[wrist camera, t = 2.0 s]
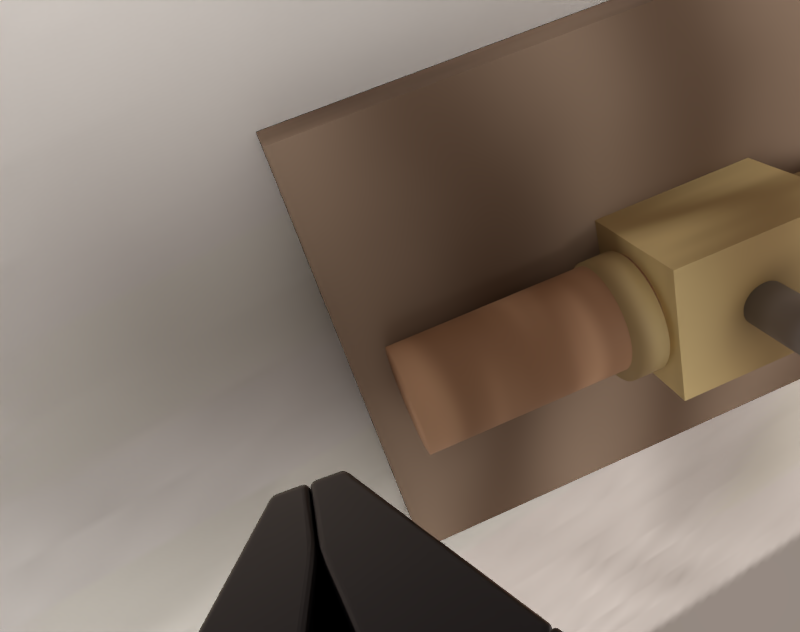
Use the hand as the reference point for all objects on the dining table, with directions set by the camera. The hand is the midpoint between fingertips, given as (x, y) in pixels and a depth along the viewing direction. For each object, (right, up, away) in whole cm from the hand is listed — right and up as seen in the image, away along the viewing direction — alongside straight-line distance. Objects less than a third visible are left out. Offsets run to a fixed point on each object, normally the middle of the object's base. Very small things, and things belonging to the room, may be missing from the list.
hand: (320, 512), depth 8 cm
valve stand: (+9, +5, +14) cm, 17 cm away
